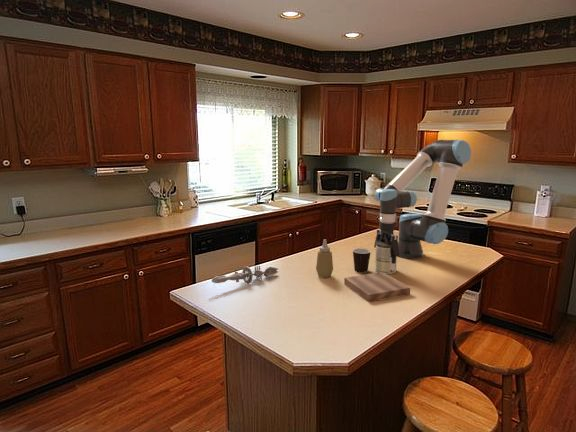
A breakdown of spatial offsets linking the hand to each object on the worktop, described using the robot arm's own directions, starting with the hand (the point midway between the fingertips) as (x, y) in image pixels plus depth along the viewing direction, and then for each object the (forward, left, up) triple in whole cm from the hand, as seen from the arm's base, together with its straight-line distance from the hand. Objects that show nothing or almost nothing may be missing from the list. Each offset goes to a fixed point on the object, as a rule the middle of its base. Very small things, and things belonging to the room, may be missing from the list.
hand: (385, 265), depth 185 cm
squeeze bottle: (+31, -4, -3) cm, 32 cm away
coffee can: (0, 0, -2) cm, 2 cm away
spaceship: (+68, -9, -3) cm, 68 cm away
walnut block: (+17, +18, -2) cm, 25 cm away
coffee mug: (+12, -4, -3) cm, 13 cm away
